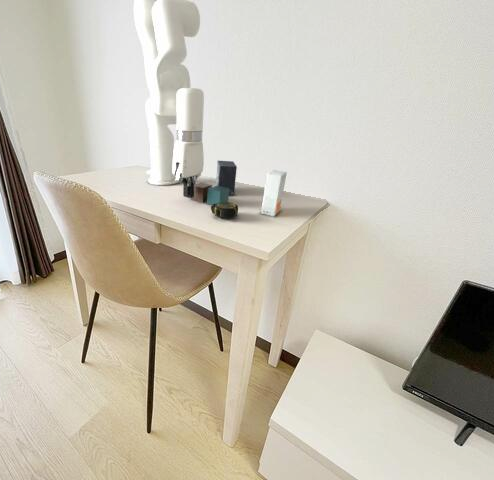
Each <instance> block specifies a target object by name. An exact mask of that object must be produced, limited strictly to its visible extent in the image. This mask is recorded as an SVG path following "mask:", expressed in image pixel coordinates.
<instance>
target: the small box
mask: <svg viewBox="0 0 494 480" xmlns="http://www.w3.org/2000/svg"><path fill="white" fill-rule="evenodd" d="M216 161H217V162H216V163H217V165H216V167H217V168H216V179H215V186H221V187H225V188H229V196H234V195H235V187H236V179H237V170H238V169H237V168H238V167H237V165H236V163H235V162H234V161H233V160H232V161H230V160H216Z"/></svg>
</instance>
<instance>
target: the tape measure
mask: <svg viewBox="0 0 494 480" xmlns="http://www.w3.org/2000/svg"><path fill="white" fill-rule="evenodd" d="M210 212H211V213H212V214H214V215H215V217H216V218H219V219H224V220H230V219H231V220H232V219H235V218H237V217H238V213H239V206H238V204H236V203H233V202H229V201H228V202H225V203H215V204H212V205H211V206H210Z"/></svg>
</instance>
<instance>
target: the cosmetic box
mask: <svg viewBox="0 0 494 480" xmlns="http://www.w3.org/2000/svg"><path fill="white" fill-rule="evenodd" d="M287 174H288V172H287V171H283V170H276V169H273V170H272V171H269V172H268V173H266V177H265V185H264V191H263V197H262V202H261V203H262V204H261V210H260V214H261V215H267V216H271V217H275V216H276V215H277V214H278V213H279V212H280V211H281V206H282V201H283V196H284V190H285V185H286V180H287Z"/></svg>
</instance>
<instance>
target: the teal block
mask: <svg viewBox="0 0 494 480" xmlns="http://www.w3.org/2000/svg"><path fill="white" fill-rule="evenodd" d="M229 196H230V195H229V188H225V187H221V186H216V185H214V186H212V187H211V188H208V190H207V201H206V204H208V205H211V206H212V204H215V203H225V202H229Z"/></svg>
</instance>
